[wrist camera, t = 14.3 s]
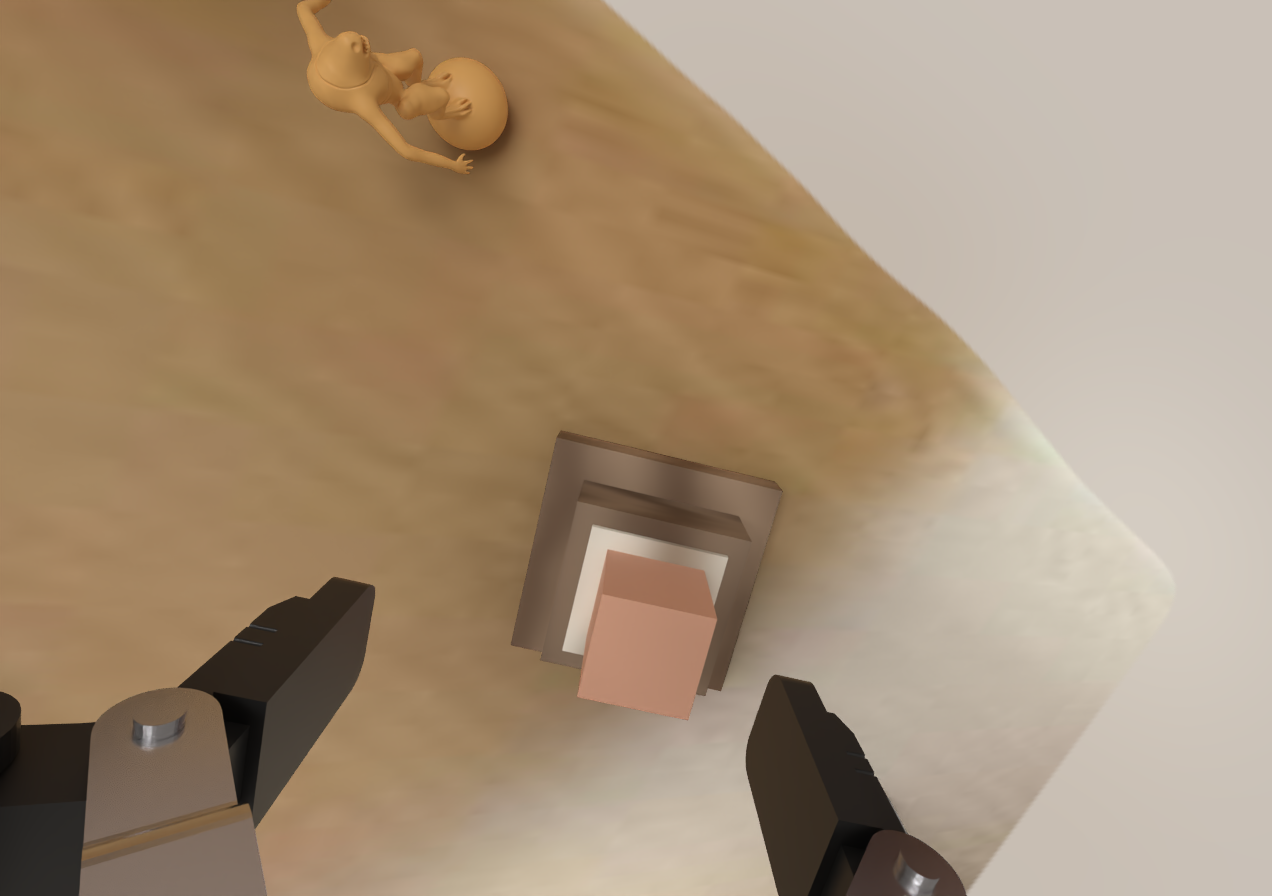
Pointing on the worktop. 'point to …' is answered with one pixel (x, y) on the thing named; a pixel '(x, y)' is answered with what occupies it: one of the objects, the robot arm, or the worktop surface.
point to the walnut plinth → (640, 540)
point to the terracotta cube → (647, 635)
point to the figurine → (405, 91)
